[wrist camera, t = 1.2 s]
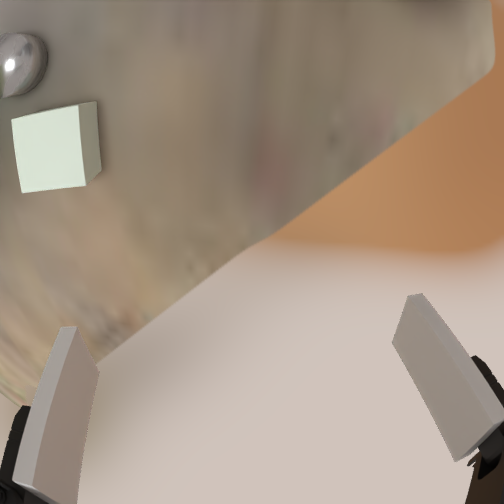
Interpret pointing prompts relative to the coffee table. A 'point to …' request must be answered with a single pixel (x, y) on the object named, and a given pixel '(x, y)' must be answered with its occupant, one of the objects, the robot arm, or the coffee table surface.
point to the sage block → (57, 147)
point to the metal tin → (21, 63)
